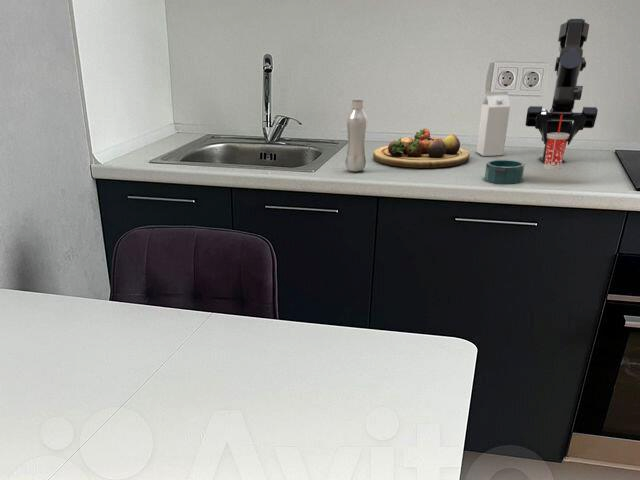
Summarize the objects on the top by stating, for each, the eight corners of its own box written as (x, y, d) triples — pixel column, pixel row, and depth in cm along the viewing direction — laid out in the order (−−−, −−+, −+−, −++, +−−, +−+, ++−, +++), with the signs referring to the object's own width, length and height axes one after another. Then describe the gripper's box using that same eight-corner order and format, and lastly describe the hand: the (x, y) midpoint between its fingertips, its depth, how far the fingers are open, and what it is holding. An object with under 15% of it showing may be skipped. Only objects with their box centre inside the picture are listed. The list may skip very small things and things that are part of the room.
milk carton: (476, 152, 252) (483, 90, 241) (496, 151, 253) (504, 90, 242) (482, 156, 246) (490, 93, 236) (503, 155, 247) (512, 92, 236)
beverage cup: (565, 166, 211) (575, 113, 203) (560, 171, 207) (570, 116, 199) (544, 164, 214) (553, 112, 206) (538, 169, 210) (547, 115, 202)
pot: (525, 176, 221) (528, 160, 218) (516, 186, 210) (519, 169, 208) (490, 173, 225) (492, 157, 222) (480, 183, 214) (482, 167, 212)
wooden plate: (390, 147, 262) (392, 122, 258) (479, 153, 251) (482, 127, 246) (359, 165, 239) (360, 137, 234) (455, 172, 227) (458, 143, 222)
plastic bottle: (367, 169, 233) (370, 99, 222) (362, 173, 228) (365, 102, 217) (348, 168, 235) (350, 99, 224) (342, 172, 230) (344, 102, 219)
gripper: (533, 73, 203) (524, 124, 201) (604, 74, 198) (596, 125, 196) (529, 101, 213) (521, 149, 211) (597, 102, 208) (589, 151, 206)
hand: (556, 143), depth 206 cm, fingers closed on beverage cup, 6 cm apart
